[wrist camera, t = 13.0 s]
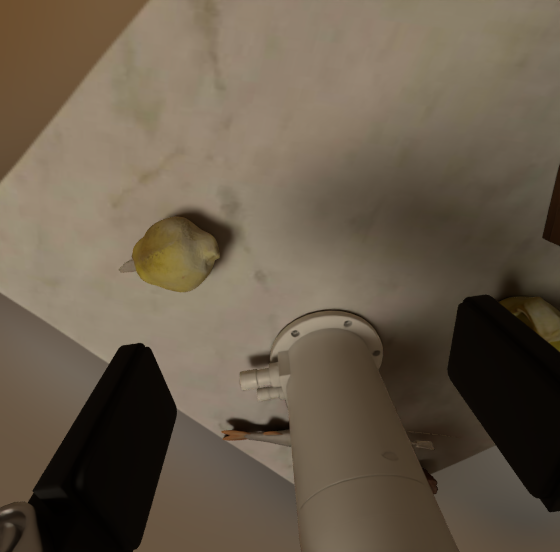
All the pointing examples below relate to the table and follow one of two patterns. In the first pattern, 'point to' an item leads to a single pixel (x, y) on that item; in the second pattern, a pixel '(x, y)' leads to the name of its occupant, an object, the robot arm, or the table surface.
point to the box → (554, 216)
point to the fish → (261, 436)
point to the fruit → (174, 255)
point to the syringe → (424, 443)
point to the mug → (536, 316)
